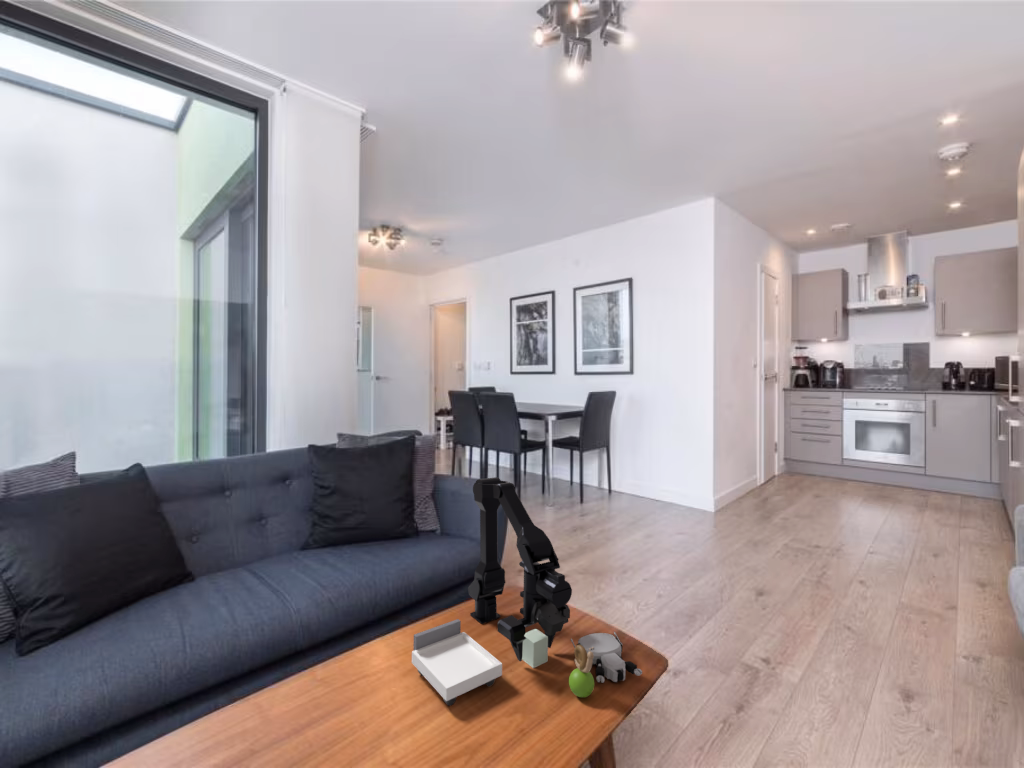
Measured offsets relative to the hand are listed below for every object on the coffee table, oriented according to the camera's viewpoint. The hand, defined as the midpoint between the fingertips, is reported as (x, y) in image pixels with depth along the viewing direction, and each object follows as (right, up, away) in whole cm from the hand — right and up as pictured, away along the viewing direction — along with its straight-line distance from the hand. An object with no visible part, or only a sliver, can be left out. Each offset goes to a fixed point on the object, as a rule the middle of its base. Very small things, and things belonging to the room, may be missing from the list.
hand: (534, 653), depth 112 cm
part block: (0, -2, 0) cm, 2 cm away
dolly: (-18, -1, -8) cm, 20 cm away
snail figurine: (+10, -2, -13) cm, 16 cm away
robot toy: (+17, -2, -2) cm, 17 cm away
